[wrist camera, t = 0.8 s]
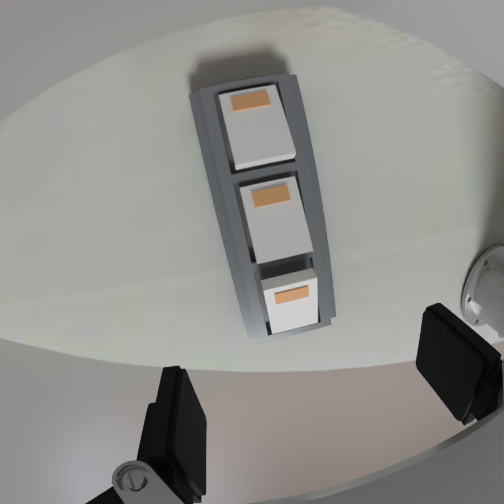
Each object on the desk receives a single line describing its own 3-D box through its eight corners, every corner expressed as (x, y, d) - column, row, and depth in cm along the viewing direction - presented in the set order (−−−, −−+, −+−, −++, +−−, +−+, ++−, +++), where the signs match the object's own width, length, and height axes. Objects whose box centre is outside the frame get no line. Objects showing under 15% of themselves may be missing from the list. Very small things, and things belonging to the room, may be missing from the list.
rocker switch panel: (328, 305, 32) (339, 322, 28) (246, 325, 31) (249, 345, 28) (289, 81, 24) (299, 71, 21) (191, 99, 24) (187, 91, 21)
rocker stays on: (293, 158, 22) (296, 152, 20) (235, 170, 22) (235, 164, 20) (273, 92, 22) (275, 83, 20) (219, 102, 22) (218, 94, 20)
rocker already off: (314, 313, 28) (318, 323, 27) (269, 324, 28) (272, 335, 27) (312, 267, 25) (317, 278, 24) (260, 280, 25) (263, 292, 23)
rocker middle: (310, 251, 24) (313, 250, 23) (256, 264, 24) (257, 264, 23) (292, 180, 24) (294, 175, 23) (240, 191, 24) (239, 187, 23)
